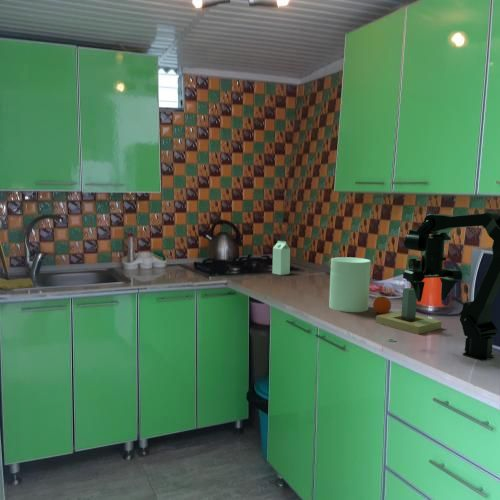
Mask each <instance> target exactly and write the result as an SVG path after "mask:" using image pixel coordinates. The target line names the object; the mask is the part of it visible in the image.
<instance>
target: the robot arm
mask: <svg viewBox="0 0 500 500" xmlns="http://www.w3.org/2000/svg"><path fill="white" fill-rule="evenodd" d="M470 227H472V228H474V227H483V228H484V229H485V231H486V234H487V235H488V237H490V239H492V240H493V242H492V246H491V248H492V251H491V252H492V257H491V258H492V259H491V261H490V263H489V265H488V268H487V270H486V273H485V274H484V277H483V279H482V281H481V284H480V286H479V288H478V290H477V293H476V295H475V298H474V299H473V300H472V301H466V302H464V303H463V306H462V310H461V311H460V312H459V313H458V314H459V322H460V323H461V327H462V332H463V336H465V337H466V338H465V340H464V341H465V344H464V352H463V353H462V355H463V356H466V357H470V358H473V359H477V360H480V361H487V360H490V359H493V358H494V357H495V354H493V344H494V337H496V336H497V334H498V333H499V329H498V327H497V326H496V324H495V323H494V321H493V320H492V319H493V314H494V313H493V303H494V301H495V299H496V296H497V294H498V292H499V289H500V214H499V213H498V212H495V211H488V212H487V211H486V212H482V213H472V214H471V213H469V214H461V215H458V214H457V215H452V214H443V213H431V214H430V213H429V214H426V215H425V217H424V220H423V221H422V223H421V224H420V226H419V227H418V229H409V230H408V233H407V234H406V236H405V237H404V240H403V245H404V247H405V249H406V250H409V251H416V252H424V254H422V255H421V258H420V260H417V258H409V259H408V263H407V265H408V268H409V269H405V270H404V272H403V273H402V278H403V280H404V279H405V280H406V282H408V283H409V284H411V285H412V288H413V289H414V291H415V295H416V298H417V301H416V302H419V303H420V302H421V301H422V298H423V293H424V289H425V281H424V280H425V279H429V278H431V279H432V278H434V279H435V278H439V280H440V282H441V295H440V296H441V297H440V298H441V299H440V300H441V301H446V299H447V297H448V295H449V294H450V292H451V291H452V289H454V287H455V285H456V283H459V281H460V280H461V281H462V280H463V273H462V271H461V270H459V269H455V268H444V261H447V257H446V256H444V253H445V243H446V242H445V241H451V240H452V238H451V236H450V235H448V233H447V232H448V231H451V230H454V229H457V228H470Z"/></svg>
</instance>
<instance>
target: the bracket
mask: <svg viewBox="0 0 500 500" xmlns="http://www.w3.org/2000/svg"><path fill="white" fill-rule="evenodd" d="M417 302H418V301H417V298H416V295H415V291H414V288H413V287H403V288H402V303H401V312H402V315H401V320H403V321H407V322H415V317H416V315H417V314H416V313H417Z"/></svg>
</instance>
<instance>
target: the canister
mask: <svg viewBox="0 0 500 500" xmlns="http://www.w3.org/2000/svg"><path fill="white" fill-rule="evenodd" d="M371 265H372V264H371V259H367V258H361V257H351V256H350V257H347V256H340V257H339V256H338V257H332V258H330V273H329V274H330V277H329V278H330V279H329V302H328V303H329V304H328V306H329V308H330V309H331V310H334V311H339V312H343V313H344V312H347V313H362V312H366V311H368V310H369V305H370V304H369V302H370V285H371V282H370V281H371V280H370V279H371Z"/></svg>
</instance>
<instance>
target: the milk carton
mask: <svg viewBox="0 0 500 500" xmlns="http://www.w3.org/2000/svg"><path fill="white" fill-rule="evenodd" d="M271 269H272V270H271V271H272V272H271V273H272V274H274V275H278V276H282V275H283V276H284V275H290V274H291V273H290V272H291V271H290V269H291V247H289V245H288V244H287V241H283V240H277V242H276V243H275V245H273V247H272V268H271Z"/></svg>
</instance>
